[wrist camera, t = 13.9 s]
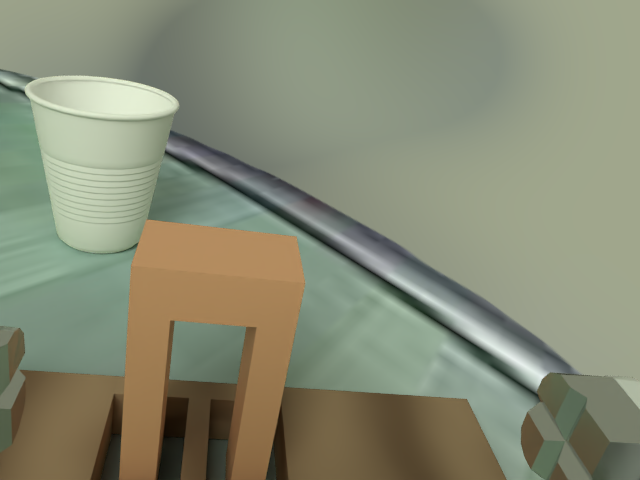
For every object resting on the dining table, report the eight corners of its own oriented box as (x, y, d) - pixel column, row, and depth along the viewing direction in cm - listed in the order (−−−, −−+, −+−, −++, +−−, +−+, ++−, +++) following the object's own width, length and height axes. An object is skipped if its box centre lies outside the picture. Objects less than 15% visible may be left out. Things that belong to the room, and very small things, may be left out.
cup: (145, 206, 52) (153, 79, 47) (186, 260, 45) (201, 117, 40) (18, 213, 46) (13, 71, 42) (42, 277, 39) (39, 113, 34)
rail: (-231, 565, 21) (-247, 514, 19) (-111, 404, 28) (-118, 360, 27) (512, 570, 26) (531, 530, 25) (453, 434, 33) (466, 399, 32)
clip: (116, 518, 25) (131, 265, 19) (130, 451, 28) (146, 219, 23) (257, 521, 26) (305, 282, 21) (254, 456, 29) (296, 236, 24)
